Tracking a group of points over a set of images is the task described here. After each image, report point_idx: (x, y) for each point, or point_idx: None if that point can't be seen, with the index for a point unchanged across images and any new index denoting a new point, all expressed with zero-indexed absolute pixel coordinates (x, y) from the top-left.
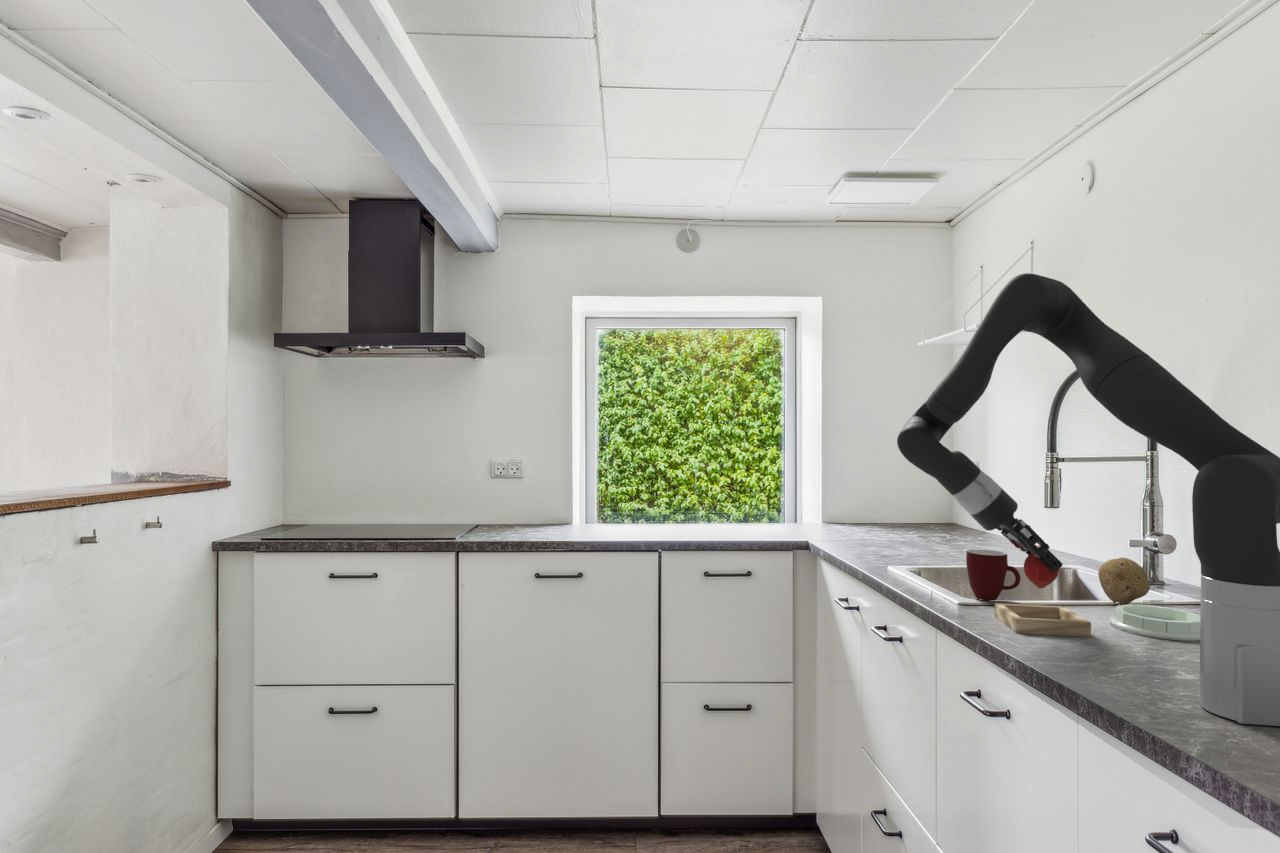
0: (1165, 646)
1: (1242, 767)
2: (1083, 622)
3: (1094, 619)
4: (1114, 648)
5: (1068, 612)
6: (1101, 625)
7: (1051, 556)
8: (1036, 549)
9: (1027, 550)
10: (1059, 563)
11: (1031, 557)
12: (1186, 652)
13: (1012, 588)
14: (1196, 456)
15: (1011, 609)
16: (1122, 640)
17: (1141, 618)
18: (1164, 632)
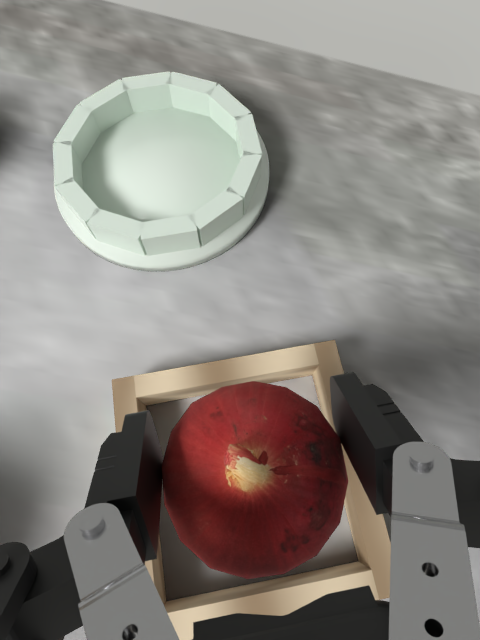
0: (343, 205)
1: None
2: (340, 361)
3: (92, 298)
4: (431, 320)
5: (207, 379)
6: (166, 296)
7: (412, 430)
8: (141, 486)
9: (143, 553)
10: (378, 389)
11: (302, 544)
12: (380, 180)
13: None
14: None
15: (156, 573)
16: (328, 282)
17: (240, 200)
18: (260, 178)
